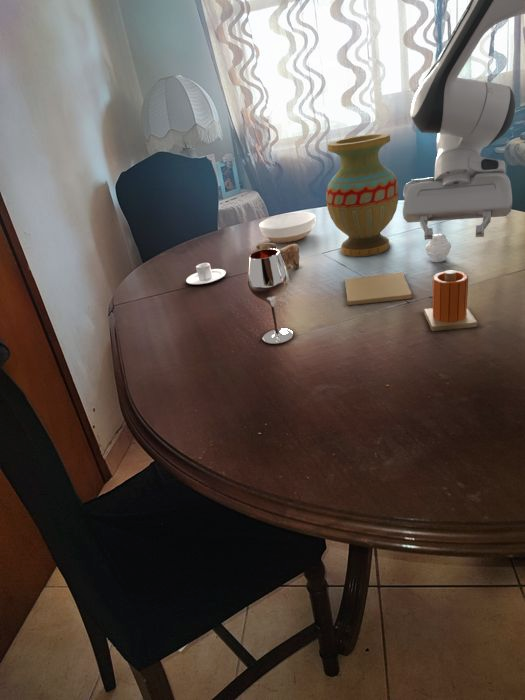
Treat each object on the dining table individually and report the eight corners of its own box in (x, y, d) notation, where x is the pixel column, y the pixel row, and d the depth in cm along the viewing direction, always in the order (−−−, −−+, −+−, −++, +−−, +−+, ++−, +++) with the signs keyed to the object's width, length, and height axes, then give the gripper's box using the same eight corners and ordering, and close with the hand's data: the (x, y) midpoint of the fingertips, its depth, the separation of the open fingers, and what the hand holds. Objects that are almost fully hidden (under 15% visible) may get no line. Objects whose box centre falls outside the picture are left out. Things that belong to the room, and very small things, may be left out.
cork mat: (402, 275, 114) (402, 272, 113) (412, 298, 102) (412, 294, 101) (345, 282, 116) (344, 278, 116) (348, 305, 104) (347, 301, 104)
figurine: (254, 282, 128) (248, 246, 123) (290, 262, 138) (285, 228, 133) (273, 284, 123) (267, 248, 119) (308, 263, 133) (304, 229, 128)
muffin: (452, 263, 116) (453, 235, 112) (426, 265, 117) (426, 238, 114) (448, 254, 121) (449, 228, 117) (424, 257, 122) (424, 231, 119)
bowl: (319, 226, 167) (317, 209, 164) (315, 242, 150) (313, 224, 147) (266, 233, 171) (264, 216, 168) (257, 249, 155) (254, 231, 152)
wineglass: (269, 326, 101) (254, 247, 93) (303, 328, 98) (291, 246, 89) (252, 344, 95) (235, 261, 87) (288, 347, 92) (274, 261, 83)
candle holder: (224, 268, 143) (221, 255, 141) (228, 280, 132) (225, 266, 130) (186, 276, 142) (182, 263, 140) (187, 289, 131) (183, 275, 129)
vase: (356, 265, 125) (347, 147, 111) (319, 251, 142) (307, 146, 128) (415, 246, 131) (413, 131, 117) (372, 234, 148) (367, 132, 134)
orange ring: (461, 307, 92) (463, 269, 88) (470, 320, 87) (472, 280, 83) (430, 310, 93) (430, 273, 89) (436, 323, 88) (437, 284, 84)
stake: (465, 309, 93) (467, 261, 88) (476, 327, 86) (479, 276, 82) (424, 313, 95) (424, 267, 90) (432, 331, 88) (432, 282, 83)
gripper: (402, 171, 96) (397, 232, 93) (514, 160, 88) (512, 225, 85) (405, 189, 102) (401, 246, 99) (511, 179, 93) (509, 241, 90)
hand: (453, 237), depth 92 cm, fingers open, 8 cm apart
